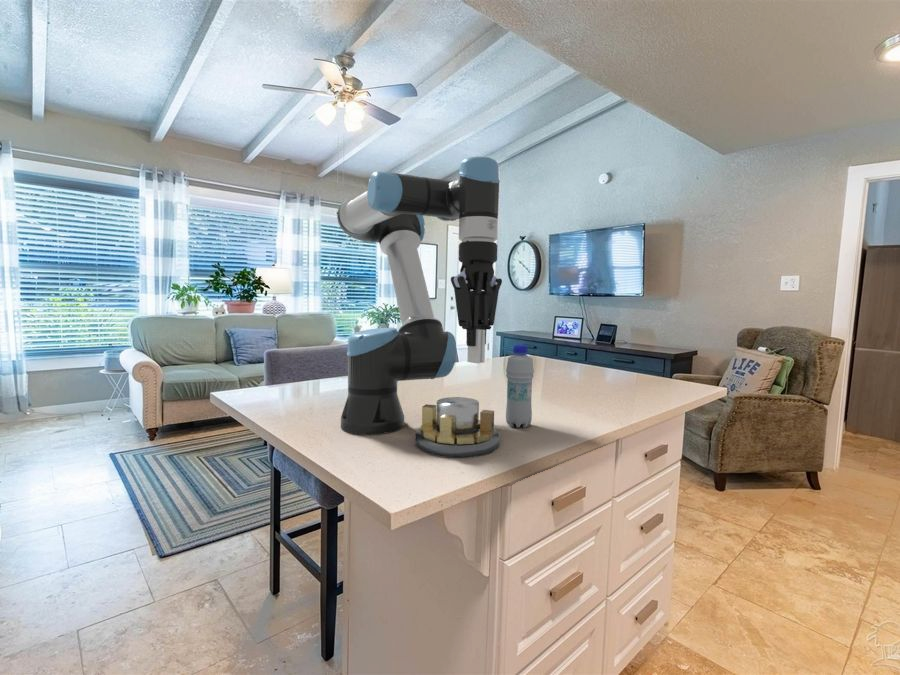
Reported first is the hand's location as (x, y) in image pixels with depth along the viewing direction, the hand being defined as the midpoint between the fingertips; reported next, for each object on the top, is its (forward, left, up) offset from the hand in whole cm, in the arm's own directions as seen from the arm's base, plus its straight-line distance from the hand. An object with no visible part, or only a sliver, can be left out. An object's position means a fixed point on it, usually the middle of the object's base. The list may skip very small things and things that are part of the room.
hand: (476, 362), depth 90 cm
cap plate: (-5, +4, -18) cm, 20 cm away
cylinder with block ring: (-5, +4, -16) cm, 17 cm away
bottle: (+5, +22, -19) cm, 29 cm away
